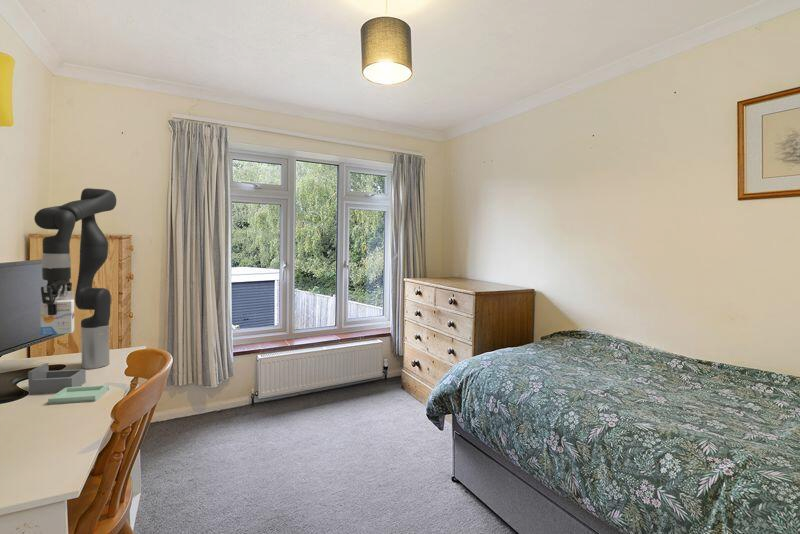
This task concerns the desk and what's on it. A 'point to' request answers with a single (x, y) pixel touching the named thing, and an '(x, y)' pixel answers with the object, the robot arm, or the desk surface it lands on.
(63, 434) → the desk surface
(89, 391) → the tray
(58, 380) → the bay
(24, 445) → the desk surface
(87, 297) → the robot arm
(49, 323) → the ink box
